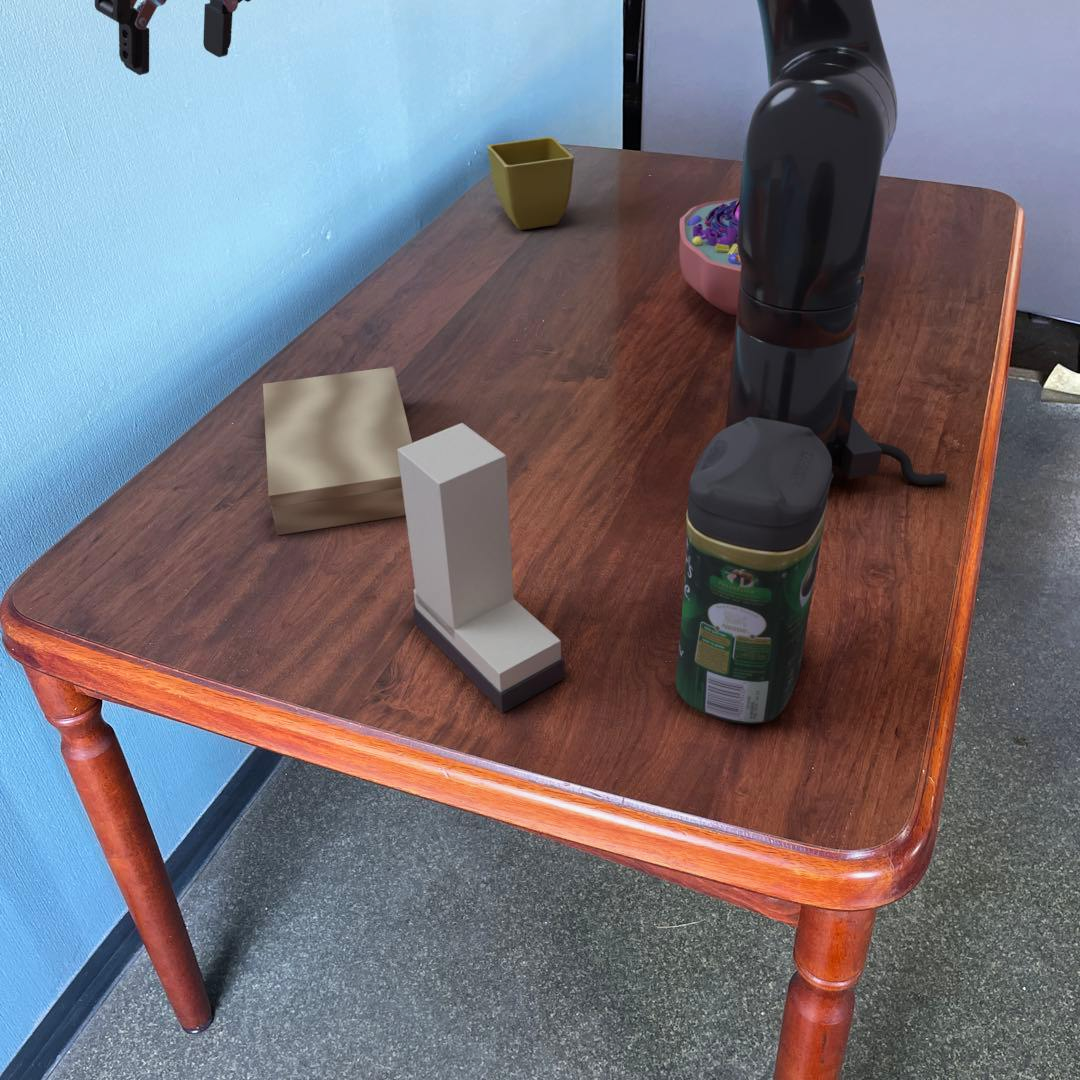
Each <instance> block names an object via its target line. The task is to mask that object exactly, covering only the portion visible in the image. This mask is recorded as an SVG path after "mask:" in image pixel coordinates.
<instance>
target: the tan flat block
mask: <svg viewBox="0 0 1080 1080" xmlns="http://www.w3.org/2000/svg"><path fill="white" fill-rule="evenodd" d="M262 391H263V413H264V430H265V431H264V435H265V452H266V470H267V471H266V473H267V493H268V499H269V504H270V508H271V513H272V517H273V522H274V526H275V531H276V534H277V536H281V535H282V536H283V535H290V534H295V533H301V532H302V533H303V532H308V531H315V530H321V529H327V528H334V527H335V528H336V527H341V526H347V525H353V524H360V523H367V522H374V521H379V520H386V519H392V518H399V517H404V516H405V517H406V513H405V505H404V497H403V489H402V482H401V474H400V466H399V458H398V451H397V449H399V448H401V447H404V446H406V445H408V444H411V443H413V442H414V441H413V439H412V435H411V431H410V427H409V422H408V418H407V414H406V410H405V406H404V403H403V398H402V394H401V390H400V387H399V381H398V377H397V374H396V370H395V367H394V366H388V367H379V368H373V369H364V370H357V371H351V372H342V373H335V374H334V373H333V374H327V375H320V376H319V375H318V376H312V377H311V376H310V377H304V378H297V379H288V380H281V381H274V382H273V381H272V382H267V383H263V384H262Z"/></svg>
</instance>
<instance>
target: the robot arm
mask: <svg viewBox="0 0 1080 1080" xmlns="http://www.w3.org/2000/svg"><path fill="white" fill-rule="evenodd" d="M167 1H168V0H140V2H139V4H138V5H137V7H135V5H136V4H137V2H138V0H94V8H95V10H96V11H98V12H99V13H101V14H102V15H104V16H106V17H108V18H109V19H111V20H113V21H115V22H116V23H118V56H119V59H120V61H121V62H122V63H123V65H124V66H125V68H127V70H130V71H132V72H133V73H135V74H136V75H138V76H143V75H147V74H149V73H150V28H149V27H147V26H148V25H149V23H150V21H151V19H152V18H153V16H154V13H155V11H156V10H157V9H158V7H163V6H164V5H165V4H166V2H167ZM243 1H244V2H246V3H249V2H251V1H252V0H209V3H204V9H203V10H204V11H203V13H204V14H203V16H204V17H203V39H202V40H203V43H202V44H203V48H204V49H205V50H206V52H208V53H210V54H211V55H214V56H215V57H217V58H223V57H227V56H228V54H229V49H230V46H231V43H232V29H233V15H234V14H233V13H234V12H236V10H237V9H238V6H239V4H240V3H241V2H243ZM756 3H757V7H758V13H759V19H760V25H761V29H762V36H763V44H764V52H765V60H766V69H767V82H768V90H767V91H766V93H765V94H764V95H763V97H762V98H761V99H760V100H759V102H758V103H757V104H756V107H755V108H754V110H753V112H752V114H751V116H750V120H749V123H748V126H747V130H746V135H745V141H744V147H743V154H742V165H741V176H740V177H741V178H740V190H739V191H740V192H739V198H740V204H739V220H738V236H737V245H738V253H739V257H740V260H741V272H740V285H739V295H738V305H737V316H736V315H735V328H734V337H733V347H732V348H733V349H732V359H731V368H730V377H729V378H730V379H729V386H728V387H729V390H728V400H727V410H726V419H725V428H727V427H729V426H731V425H734V424H736V423H738V422H741V421H744V420H745V419H746V418H748V417H755V418H762V419H768V420H774V421H780V422H785V423H789V424H794V425H798V426H802V427H806V428H809V429H811V430H812V431H813V433H814V434H815V435H816V436H817V437H818V438H819V439H820V440H821V441H822V442H823V444H824V445H825V446H826V448H827V449H828V451H829V453H830V456H831V459H832V473H833V478H832V480H831V483H830V486H833V485H839V484H840V483H842V478H843V474H844V475H845V477H847V479H849V480H852V479H858V478H865V477H871V476H876V475H878V473H879V469H880V468H879V467H880V463H881V458H882V455H885V456H889V457H891V458H893V459H895V460H896V461H897V462H899V464H900V470H901V473H902V475H903V478H905V479H906V480H907V481H908V482H910V483H911V484H914V485H918V486H933V485H934V486H935V485H946V483H947V477H948V476H947V473H946V472H945V473H944V472H943V473H942V472H941V473H940V472H939V473H930V474H920V473H917V472H915V471H914V469H913V464H912V460H911V458H910V456H909V455H908V454H907V453H906V452H905V451H903V450H902V449H901V448H899V447H897V446H895V445H893V444H890V443H883V442H880V441H875V440H874V439H873V438H872V436H871V435H870V434H869V432H868V431H866V429H865V428H864V427H863V426H862V425H861V423H860V422H859V421H858V420H857V419H856V418H855V417H854V412H855V406H856V401H857V395H858V390H859V386H858V383H857V381H856V380H855V379H854V378H853V377H852V376H851V375H850V373H851V368H852V362H853V355H854V350H855V345H856V339H857V333H858V326H859V322H860V315H861V310H862V304H863V298H864V293H865V288H866V282H867V275H868V271H869V266H870V265H869V264H870V259H869V253H868V252H869V241H870V234H871V230H872V222H873V217H874V212H875V205H876V199H877V193H878V187H879V182H880V176H881V172H882V166H883V161H884V158H885V156H886V153H887V151H888V149H889V147H890V145H891V143H892V141H893V138H894V134H895V132H896V128H897V124H898V123H897V121H898V115H899V114H898V113H899V109H898V97H897V91H896V86H895V82H894V78H893V75H892V71H891V68H890V64H889V60H888V56H887V54H886V50H885V46H884V42H883V39H882V38H883V37H882V35H881V32H880V31H881V30H880V27H879V25H878V24H879V23H878V19H877V16H876V11H875V8H874V3H873V1H872V0H756Z"/></svg>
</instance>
